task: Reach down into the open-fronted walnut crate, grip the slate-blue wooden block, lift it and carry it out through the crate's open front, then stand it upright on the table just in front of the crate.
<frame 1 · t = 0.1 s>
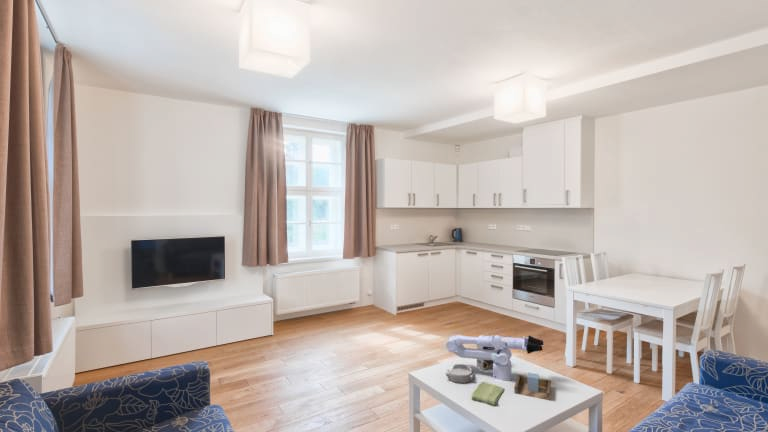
hand: (542, 345, 193), 22 cm above the table, tool horizontal, fingers open, 7 cm apart
slate block: (533, 389, 189), point 1 cm above the table, touching walnut crate
coffee box: (486, 366, 218), on the table
washcloth: (487, 396, 186), on the table
dish: (460, 378, 205), on the table
walnut crate: (533, 392, 188), on the table
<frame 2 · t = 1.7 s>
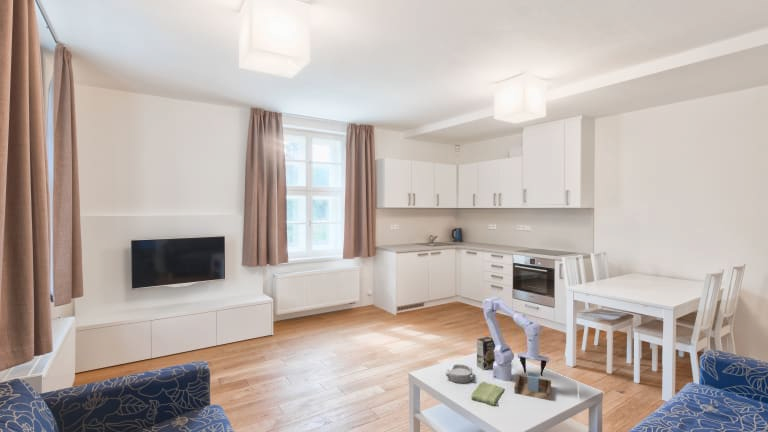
hand: (533, 373, 189), 9 cm above the table, tool pointing down, fingers open, 7 cm apart
nothing on the table moved.
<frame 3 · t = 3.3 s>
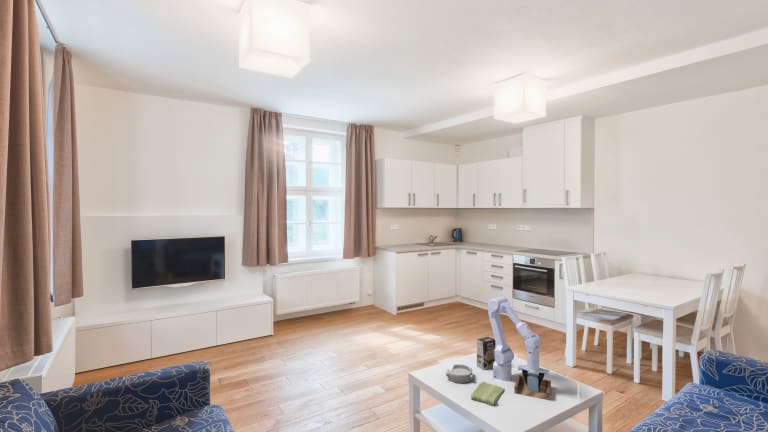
hand: (533, 386, 189), 3 cm above the table, tool pointing down, fingers closed on slate block, 5 cm apart
slate block: (533, 389, 189), point 1 cm above the table, touching gripper, walnut crate
everything else where it was.
when the fingers open (3 cm above the table, at t = 7.8 s): slate block drops 1 cm, on the table.
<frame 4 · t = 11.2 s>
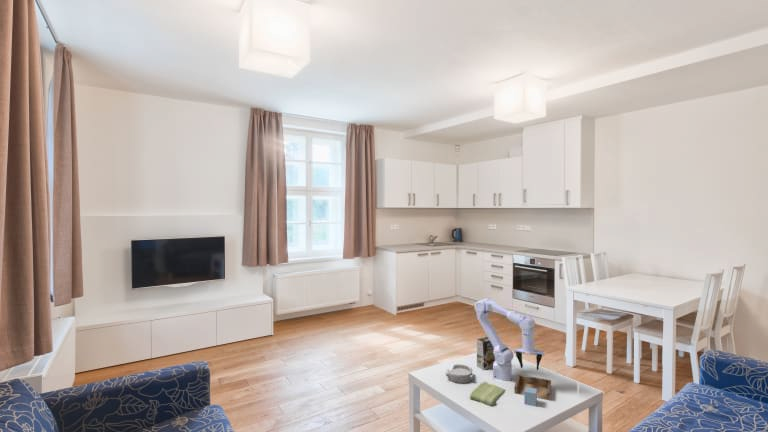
hand: (529, 368, 192), 10 cm above the table, tool pointing down, fingers open, 7 cm apart
slate block: (530, 404, 177), on the table
everything else where it was.
at the end: slate block inside the target area (1.2 cm from its centre), on the table; slate block tilted 0°; the gripper is holding nothing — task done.
